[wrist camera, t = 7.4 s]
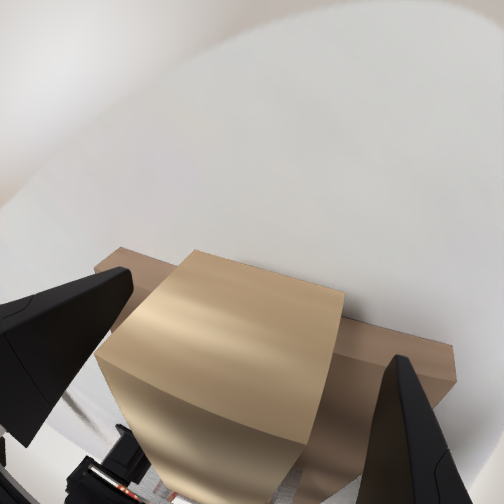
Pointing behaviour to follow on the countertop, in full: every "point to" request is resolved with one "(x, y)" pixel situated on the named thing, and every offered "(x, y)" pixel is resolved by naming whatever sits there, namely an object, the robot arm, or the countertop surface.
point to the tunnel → (158, 493)
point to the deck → (328, 383)
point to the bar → (223, 375)
